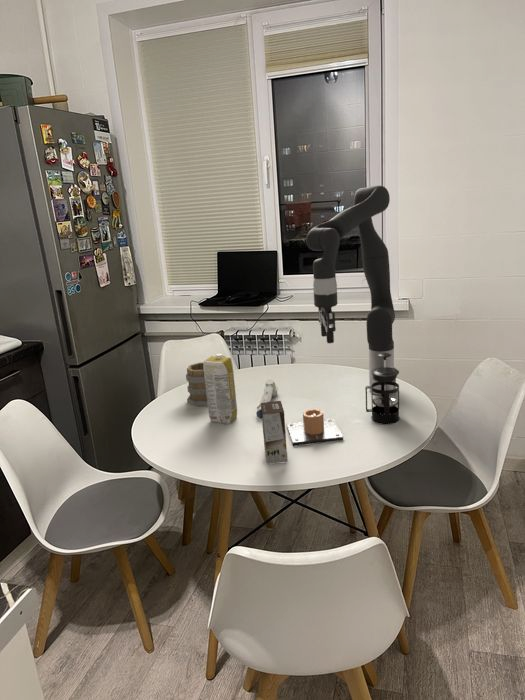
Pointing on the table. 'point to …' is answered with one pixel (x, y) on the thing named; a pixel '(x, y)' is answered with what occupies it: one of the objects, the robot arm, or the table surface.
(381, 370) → the french press
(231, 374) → the juice carton
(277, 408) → the coffee box
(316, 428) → the octagonal hollow tube
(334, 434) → the plate
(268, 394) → the toothbrush head
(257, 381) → the table surface
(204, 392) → the tankard
